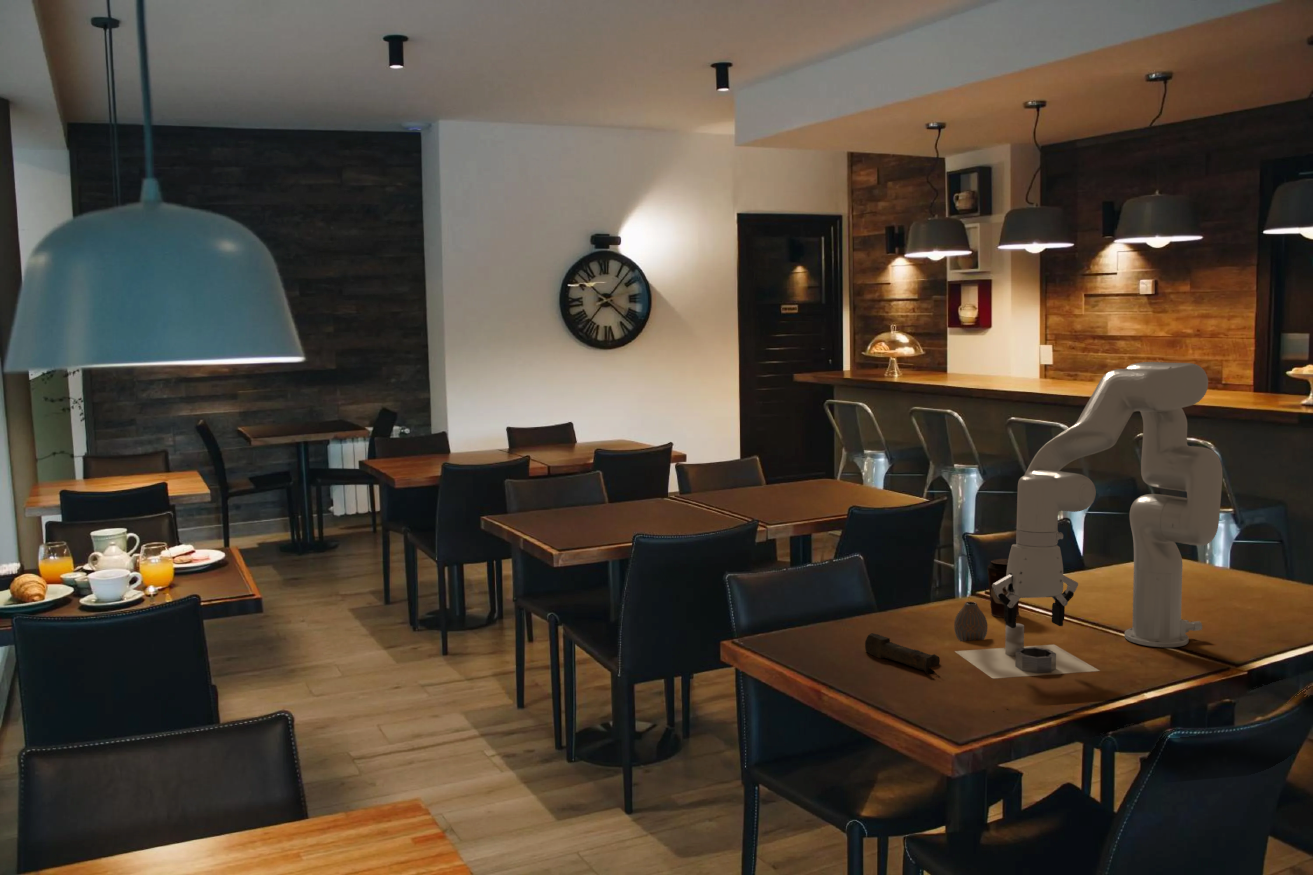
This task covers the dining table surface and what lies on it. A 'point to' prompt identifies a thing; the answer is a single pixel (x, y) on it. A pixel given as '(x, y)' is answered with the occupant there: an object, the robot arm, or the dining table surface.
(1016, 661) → the ring
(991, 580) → the coffee cup
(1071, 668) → the board
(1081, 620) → the dining table surface
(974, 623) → the vase
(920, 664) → the hand tool
